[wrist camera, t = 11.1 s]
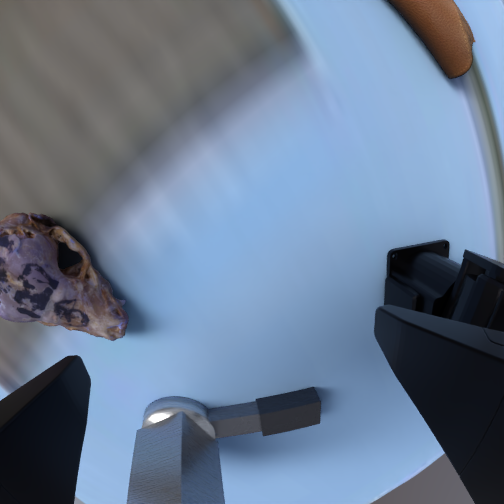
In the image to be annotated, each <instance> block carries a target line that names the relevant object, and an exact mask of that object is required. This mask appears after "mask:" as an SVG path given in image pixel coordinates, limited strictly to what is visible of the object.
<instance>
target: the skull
mask: <svg viewBox="0 0 504 504" xmlns="http://www.w3.org/2000/svg"><path fill="white" fill-rule="evenodd" d="M59 242H62V243H66V244H67V246H68V248H69V249H70V250H72V251H76V252H79V254H80V255H81V257H82V258H83V259H82V260H81V262H80V263H78V264H76V265H73V266H71V267H67V268H65V269H60V268H59V267H58V260H59V252H58V244H59ZM112 293H113V290H112V287H111V285H110V283H109V281H108V280H105V279H104V278H103V277H102V276H101V275H100V273H99V271H97V270H96V269H94V268H93V266H92V264H91V260H90V255H89V254H88V253H87V251H86V249H85V248H84V247H83V246H82V245H81V244H80V243H79V242H77V241H76V240H75V238H73V237H72V236H71V235H70V234H69V233H68V232H67V231H66V230H65V229H64V228H62V227H59V226H58V225H57V224H56V223H55V222H54V220H53V219H52V218H50V217H48V216H46V215H43V214H40V215H37V214H34V213H29V215H27V214H25V213H14V214H11V215H9V216H6V217H5V218H4V219H3V220H2V221H1V222H0V316H1V317H2V318H4V319H6V320H9V321H13V322H33V321H38V322H40V323H42V324H44V325H47V326H57V325H61V326H63V327H65V328H66V329H68V330H78V331H83V332H86V333H88V334H90V335H94V336H96V337H104V338H106V339H108V340H111V341H114V340H116V339H117V338H122V337H123V336H124V335H125V330H126V328H127V324H128V321H129V318H128V315H127V313H126V312H125V311H124V310H123V308H122V306H123V305H124V304H125V301H126V300H120V299H116V298H115V297H114V296H113V294H112Z"/></svg>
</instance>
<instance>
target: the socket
mask: <svg viewBox="0 0 504 504" xmlns="http://www.w3.org/2000/svg"><path fill="white" fill-rule="evenodd" d="M127 504H225V499H224V491H223V483H222V474H221V465H220V456H219V446H218V441H216V440H215V439H214V438H213V437H212V436H210V435H209V434H208V433H207V432H206V431H205V430H203V429H202V428H201V427H200V426H199V425H198V424H196V423H195V422H194V421H193V420H192V419H191V418H190V417H189V416H187V415H186V414H185V413H184V412H183V411H181V412H178V413H176V414H174V415H172V416H170V417H167V418H165V419H163V420H160V421H158V422H156V423H153V424H151V425H149V426H146V427H144V428H142V429H139V430H137V433H136V439H135V446H134V452H133V459H132V466H131V473H130V481H129V489H128V497H127Z"/></svg>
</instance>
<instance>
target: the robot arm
mask: <svg viewBox="0 0 504 504" xmlns="http://www.w3.org/2000/svg"><path fill="white" fill-rule="evenodd" d="M444 244H445V245H444ZM443 246H444V247H443ZM394 254H395V257H394V258H393V255H394ZM448 257H449V242H448V241H447V240H444V239H443V240H438V241H432V242H427V243H422V244H417V245H411V246H406V247H401V248H395V249H391V250H390V251H389V252H388V255H387V277H386V279H385V298H384V306H381V307H378V308H377V309H376V313H375V326H374V334H375V338H376V340H377V342H378V344H379V345H380V347H381V349H382V351H383V353H384V355H385V357H386V359H387V361H388V363H389V365H390V367H391V369H392V370H393V372H394V374H395V376H396V377H397V379H398V380H399V382H400V383H401V385H402V386H403V388H404V389H405V391H406V392H407V394H408V395H409V397H410V398H411V400H412V401H413V403H414V405H415V406H416V408H417V409H418V411H419V412H420V414H421V415H422V417H423V418H424V420H425V422H426V423H427V425H428V426H429V428H430V429H431V431H432V433H433V434H434V436H435V437H436V439H437V441H438V442H439V444H440V445H441V447H442V449H443V450H444V452H445V454H446V455H447V457H448V458H449V460H450V462H451V463H452V465H453V467H454V468H455V470H456V472H457V473H458V475H460V479H461V480H462V482H463V484H464V486H465V487H466V489H467V491H468V492H469V494H470V496H471V498H472V499H473V501H474V503H475V504H504V264H503V263H501V262H498V261H496V260H493V259H490V258H488V257H485V256H482V255H480V254H477V253H474V252H471V251H469V250H466V249H465V251H464V255H463V257H464V259H463V262H462V265H460V264H458V263H456V262H454V261H452V260H450V259H448ZM90 388H91V379H90V376H89V374H88V372H87V370H86V367H85V365H84V363H83V361H82V359H81V357H80V356H78V355H74V356H67V357H65V358H63V359H62V360H60V361H59V362H57V363H56V364H54V365H53V366H51V367H50V368H48V369H47V370H45V371H44V372H42V373H41V374H39V375H38V376H36V377H35V378H33V379H32V380H30V381H29V382H27V383H26V384H24V385H23V386H21V387H20V388H18V389H17V390H15V391H14V392H13V393H11V394H10V395H8V396H7V397H5V398H4V399H2V400H1V401H0V504H74V499H75V491H76V483H77V476H78V470H79V464H80V457H81V452H82V446H83V441H84V436H85V430H86V425H87V416H88V406H89V397H90Z"/></svg>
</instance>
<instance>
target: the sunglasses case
mask: <svg viewBox="0 0 504 504" xmlns="http://www.w3.org/2000/svg"><path fill="white" fill-rule="evenodd" d="M388 1H389V2H390V3H391V4H392V5H393V6H394V7H395V8H396V9H397V10H398V11H399V12H400V13H401V15H402V16H403V17H404V18H405V20H406V21H407V22H408V23H409V25H410V26H411V27H412V28H413V30H414V31H415V32H416V33H417V34H418V36H419V37H420V38H421V39H422V41H423V42H424V43H425V45H426V46H427V47H428V49H429V50H430V52H431V53H432V55H433V56H434V57H435V59H436V60H437V62H438V63H439V64H440V66H441V68H442V69H443V71H444V72H445V74H446V75H447V76H448V78H449V79H452V78H457V77H459V76H462V75H464V74H465V73H466V72H467V71H468V70H469V69H470V67H471V65H472V62H473V55H472V44H473V42H475V40H474V37H473V33H472V31H471V29H470V26H469V25H468V23H467V21H466V19H465V18H464V16H463V14H462V13H461V11H460V10H459V8H458V7H457V5H456V4H455V2H454V1H453V0H388Z"/></svg>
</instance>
